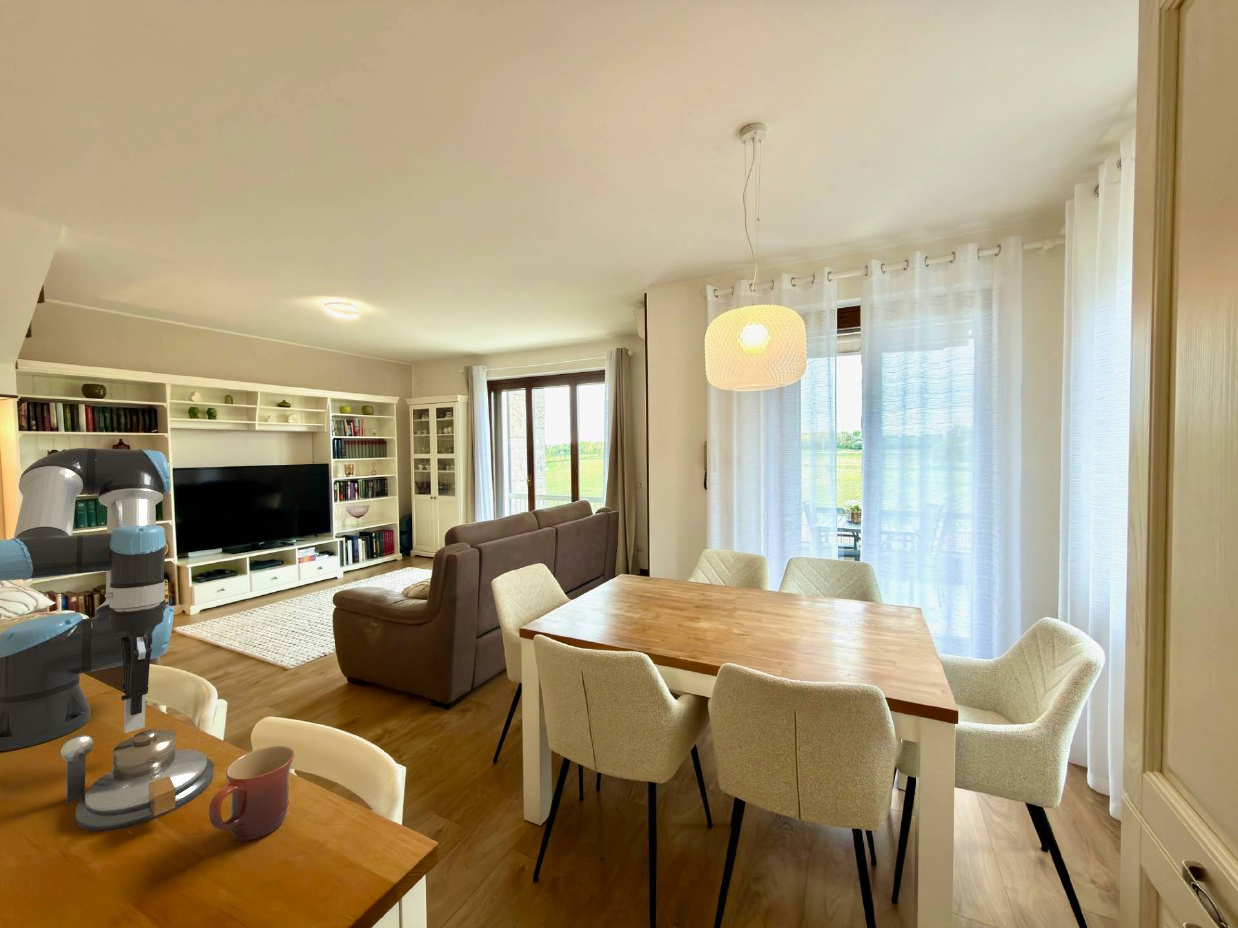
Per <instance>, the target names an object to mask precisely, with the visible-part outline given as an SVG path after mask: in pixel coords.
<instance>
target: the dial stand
mask: <svg viewBox="0 0 1238 928" xmlns="http://www.w3.org/2000/svg"><path fill="white" fill-rule="evenodd" d="M93 748H94V741H93V738H92V737H91V736H89V735H87V734H79V735H76V736H73V737H72V738H68V739H67V740H66V742H64V743H63V745H62V746H61V748H60V755H61V758H62V760H65V761H66V772H65V773H66V775H65V776H66V779H65V781H66V782H65V783H66V784H65V802H66V804H67V805H69V804H71V803H74V802H77V801H80V800H81V799H82V798H83V797H84V796H85V794H86V791H85V790H86V761H87V759H86V758H87V756H88V755H89V754H90V752H92V750H93Z"/></svg>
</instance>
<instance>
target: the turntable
mask: <svg viewBox="0 0 1238 928" xmlns="http://www.w3.org/2000/svg"><path fill="white" fill-rule="evenodd" d="M207 758H208V757H207V755H206V753H205V752H203V751H200V750H198V749H197V750H196V749H189V748H188V749H176V753H175V759H174V760H173V761H172V762H171V763H170V764H168V765H167V766H165V767H163V768H161V769H159V770H157V771H155V772H153V773H150V774H147V775H144V776H140V777H136V778H130V779H117V778H114V777H113V770H111V771H110V772H107V773H105V774H104V775H103V776H101V777H100V778H98V779H96V780H95V782H93V783H92V784H91V785H90V786H89V787H88V789H87V790H86V791H85V808H86V810H87V811H88V812H90V813H93V814H97V815H112V814H120V813H126V812H130V811H135V810H138V809H142V808H145V807H148V806H150V807H151V809H152V811H153V814H154V816H156V815H158V814H161V813H163V812H166V811H168V810H171V809H173V808H175V797H176V795H177V794H178V793H180V792H182V791H184V790H185V789H187V788H189V787H190V786H191V785H193V784H194V783H195V782H197V781H198V780H199V779H200V778H201V777H202V776H203V774H204V773H205V771H206V768H207Z"/></svg>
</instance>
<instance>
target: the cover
mask: <svg viewBox="0 0 1238 928" xmlns="http://www.w3.org/2000/svg"><path fill="white" fill-rule="evenodd" d="M176 740H177V733H176V732H175V731H174V730H171V729H170V730H169V729H160V730H157V729H155V728H152V729H146V730H143V731H139V732H137V733H136V734H135V735H134V736H133V737H130V738H129V739H126V740H124V741H122V742H121V743H119V744H118V745H116V746H115V747H114V749H113V750H112V771H113V777H114V778H117V779H130V778H136V777H140V776H144V775H147V774H150V773H153V772H155V771H157V770H159V769H161V768H163V767H165V766H167V765H168V764H170V763H171V762H172V761H173V760H174V759H175V753H176V750H177V748H176V743H177V741H176Z"/></svg>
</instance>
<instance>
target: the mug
mask: <svg viewBox="0 0 1238 928" xmlns="http://www.w3.org/2000/svg"><path fill="white" fill-rule="evenodd" d="M294 758H295V750H294V749H293V748H291V746H286V745H273V746H266V747H261V748H258V749H255V750H252V751H250V752H247V753H246V754H245V753H244V754H243V755H242V756H240V757H238V758H236V759H235V760H234V761H232V762H231V763H230V764H229V765H228V766H227V768H226V769H225V777H226V780H227V781H228V784H226V785H225V786H224V787H223V788H221V789H220V790H219V791H218V792H216V794H214V796H213V797H212V799H211V800H210V803H209V807H208V816H209V817H208V818H209V821H210V825H212V826H213V827H214V828H215V829H217V830H221V831H222V830H230V831H231V834H232V835H231V836H232V837H234V839H237V840H242V841H253V840H256V839H259V838H262V837H265V836H266V835H268V834H270V833H272V832H273V831H274V830H276V829H277V828H278V827H279V826H280V825H281V824H282V823H283V822H284V821H285V820H286V817H287V813H288V810H289V805H290V802H289V801H290V800H289V799H290V796H289V795H290V794H289V791H290V790H289V789H290V788H289V787H290V786H289V777H290V776H289V775H290V771H291V770H290V769H291V767H292V763H293V761H294ZM229 795H231V797H230V798H231V801H230V817H228V818H227V819H226V820H225V821H224V820H223V818H222V811H221V810H222V803H223V801H224V799H226V798H227V797H228V796H229Z"/></svg>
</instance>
